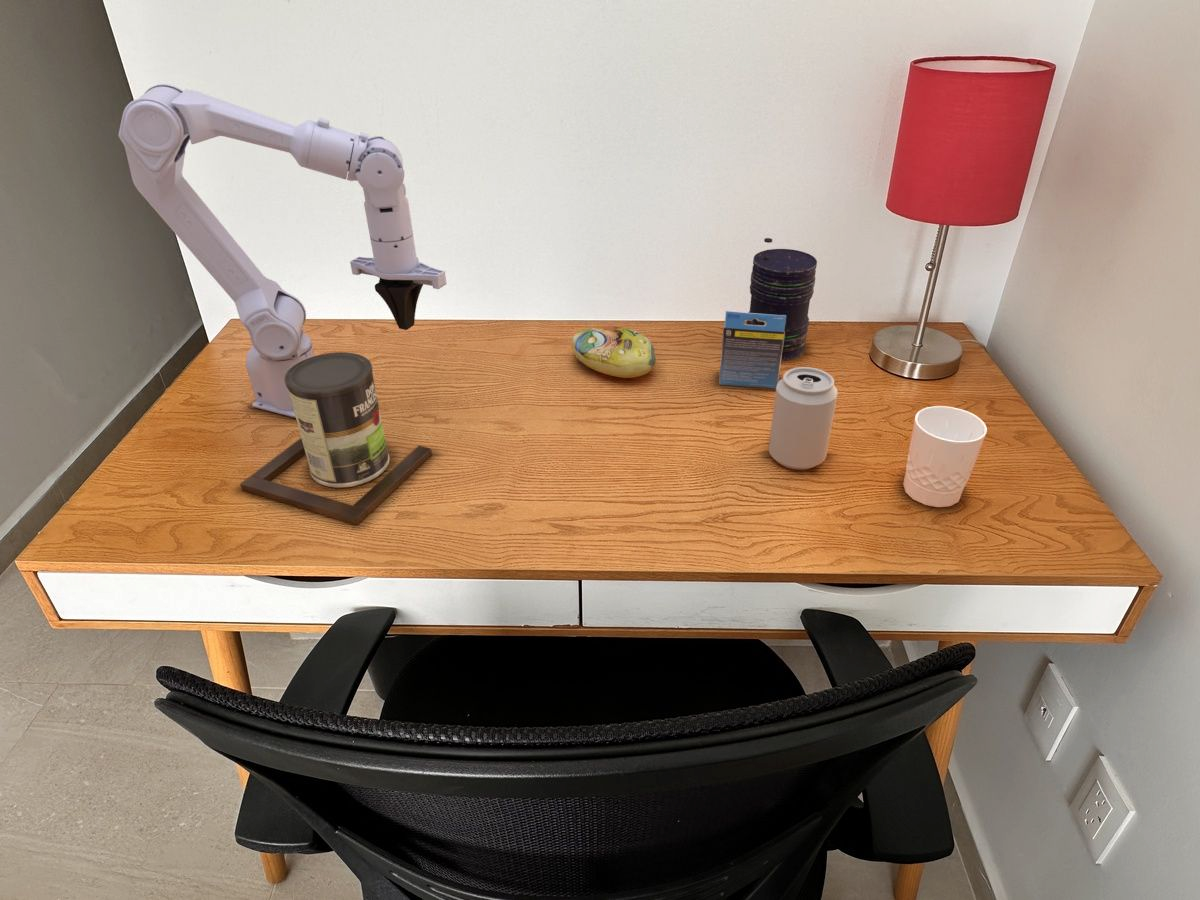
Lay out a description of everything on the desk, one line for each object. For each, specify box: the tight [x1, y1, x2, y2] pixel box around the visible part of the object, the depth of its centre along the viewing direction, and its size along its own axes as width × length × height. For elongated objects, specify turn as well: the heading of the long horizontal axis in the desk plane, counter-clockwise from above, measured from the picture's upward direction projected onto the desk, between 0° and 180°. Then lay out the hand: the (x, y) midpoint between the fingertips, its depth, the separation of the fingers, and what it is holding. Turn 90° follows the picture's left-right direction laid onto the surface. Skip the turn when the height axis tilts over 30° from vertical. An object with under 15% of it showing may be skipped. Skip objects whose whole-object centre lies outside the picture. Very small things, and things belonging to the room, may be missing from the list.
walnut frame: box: [239, 438, 433, 526], centre depth 103 cm, size 18×16×1 cm
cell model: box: [571, 325, 656, 379], centre depth 125 cm, size 11×8×15 cm
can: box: [768, 366, 839, 471], centre depth 102 cm, size 8×8×12 cm
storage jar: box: [745, 237, 818, 362], centre depth 126 cm, size 10×10×18 cm
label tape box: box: [718, 310, 786, 390], centre depth 118 cm, size 9×4×12 cm, turn 80°
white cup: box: [902, 405, 988, 508], centre depth 96 cm, size 8×8×10 cm
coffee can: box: [284, 351, 391, 489], centre depth 101 cm, size 10×10×14 cm
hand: (406, 326), depth 115 cm, fingers closed
